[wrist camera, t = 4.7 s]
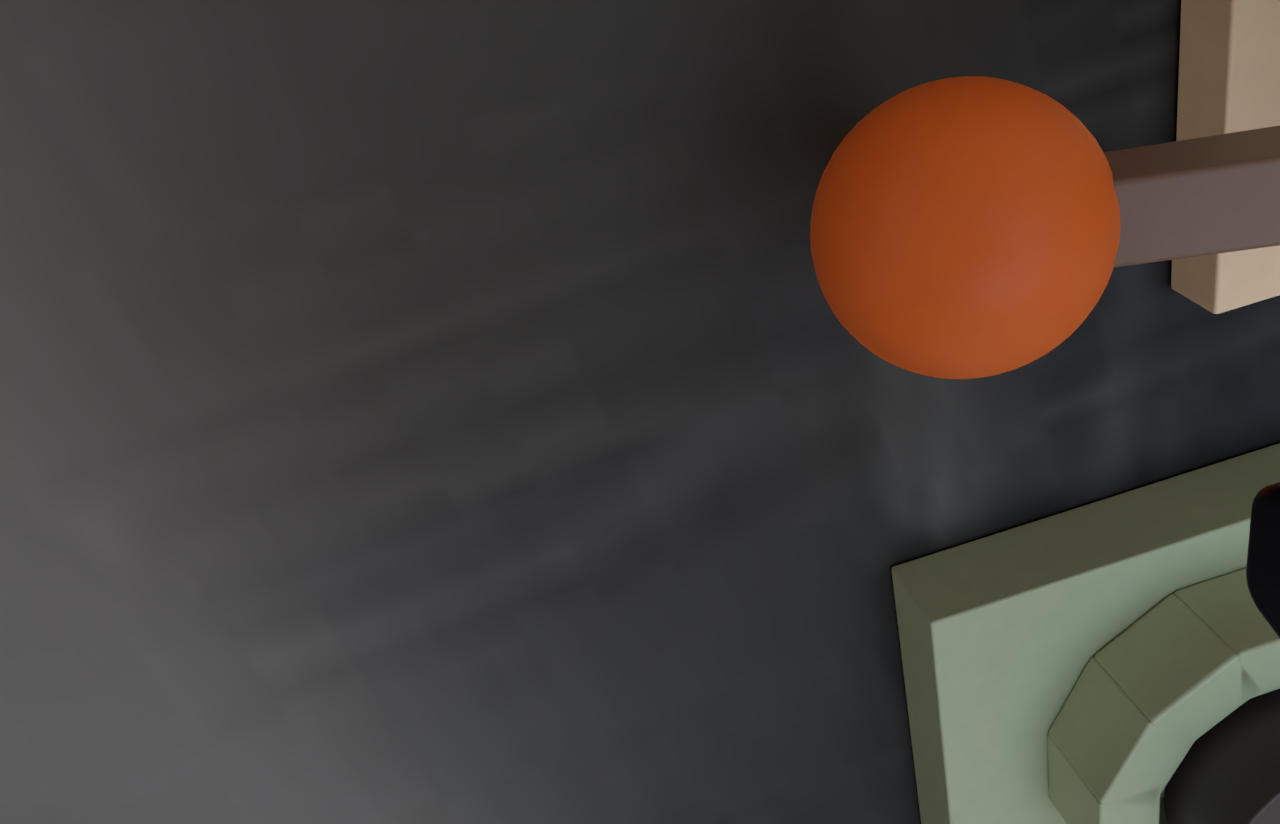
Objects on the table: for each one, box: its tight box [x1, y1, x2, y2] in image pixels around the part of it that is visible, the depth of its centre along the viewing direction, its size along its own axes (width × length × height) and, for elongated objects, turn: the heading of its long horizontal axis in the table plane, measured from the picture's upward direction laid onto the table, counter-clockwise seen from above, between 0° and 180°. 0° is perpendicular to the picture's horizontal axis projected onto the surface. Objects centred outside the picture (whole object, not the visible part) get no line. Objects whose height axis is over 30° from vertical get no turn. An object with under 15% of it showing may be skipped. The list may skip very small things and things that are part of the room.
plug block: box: [892, 443, 1280, 824], centre depth 22 cm, size 11×9×4 cm
